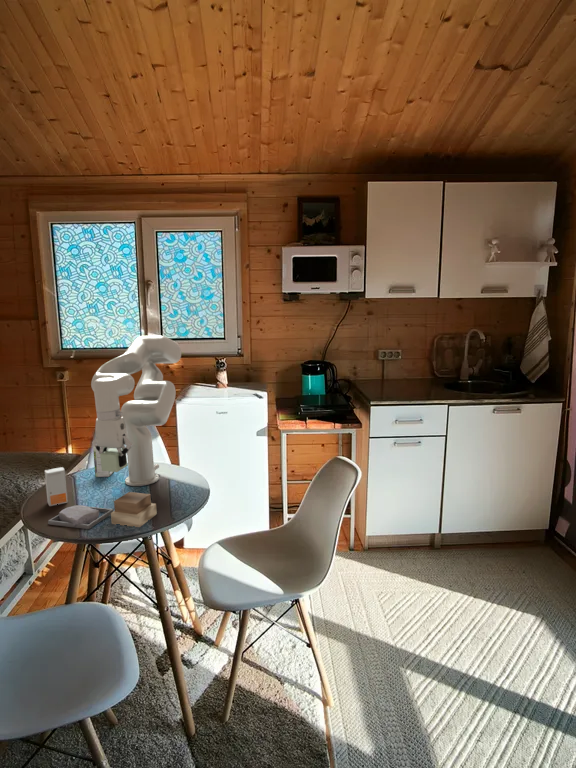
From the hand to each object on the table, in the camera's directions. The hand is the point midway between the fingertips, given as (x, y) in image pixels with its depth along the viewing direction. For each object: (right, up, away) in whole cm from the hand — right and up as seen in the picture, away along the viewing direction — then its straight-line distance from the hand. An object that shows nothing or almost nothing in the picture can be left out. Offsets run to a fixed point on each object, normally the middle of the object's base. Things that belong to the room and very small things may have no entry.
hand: (114, 464), depth 175 cm
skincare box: (-20, -14, +2) cm, 25 cm away
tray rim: (-7, -16, -11) cm, 20 cm away
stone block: (-7, -17, -11) cm, 21 cm away
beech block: (+11, -16, -13) cm, 23 cm away
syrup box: (-14, -9, +30) cm, 34 cm away
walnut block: (+10, -12, -13) cm, 21 cm away
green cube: (0, -1, 0) cm, 1 cm away
